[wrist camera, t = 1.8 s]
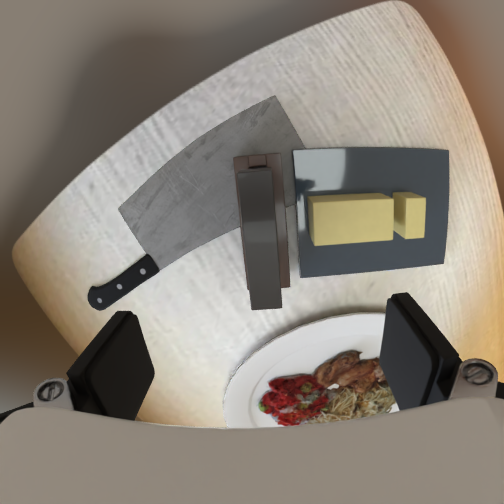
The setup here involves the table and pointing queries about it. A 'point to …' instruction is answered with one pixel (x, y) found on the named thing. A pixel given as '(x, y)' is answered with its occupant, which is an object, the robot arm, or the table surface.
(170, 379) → the table surface
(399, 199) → the butter slice
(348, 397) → the plated food
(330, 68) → the table surface
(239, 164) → the block
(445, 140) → the table surface
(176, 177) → the cleaver
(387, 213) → the butter stick
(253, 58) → the table surface
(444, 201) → the butter dish
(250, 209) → the bench scraper
